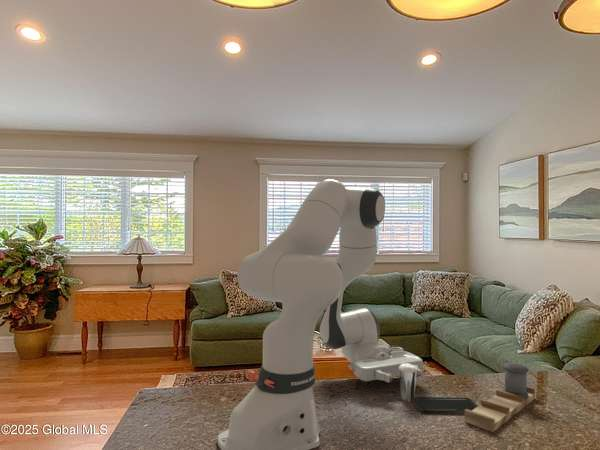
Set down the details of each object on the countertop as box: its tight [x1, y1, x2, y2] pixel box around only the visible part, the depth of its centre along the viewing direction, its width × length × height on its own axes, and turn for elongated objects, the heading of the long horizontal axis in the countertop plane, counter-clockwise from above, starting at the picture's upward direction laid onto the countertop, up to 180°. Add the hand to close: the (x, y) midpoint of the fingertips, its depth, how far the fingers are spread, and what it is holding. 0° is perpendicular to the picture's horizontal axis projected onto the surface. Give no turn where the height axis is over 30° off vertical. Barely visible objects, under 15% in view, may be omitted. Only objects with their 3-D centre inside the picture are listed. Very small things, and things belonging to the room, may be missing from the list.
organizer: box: [464, 385, 536, 433], centre depth 101 cm, size 26×6×3 cm, turn 132°
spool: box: [502, 362, 529, 398], centre depth 107 cm, size 6×6×7 cm
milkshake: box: [399, 362, 420, 403], centre depth 107 cm, size 4×5×10 cm
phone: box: [412, 396, 479, 415], centre depth 102 cm, size 8×1×15 cm
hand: (405, 376), depth 108 cm, fingers open, 8 cm apart
